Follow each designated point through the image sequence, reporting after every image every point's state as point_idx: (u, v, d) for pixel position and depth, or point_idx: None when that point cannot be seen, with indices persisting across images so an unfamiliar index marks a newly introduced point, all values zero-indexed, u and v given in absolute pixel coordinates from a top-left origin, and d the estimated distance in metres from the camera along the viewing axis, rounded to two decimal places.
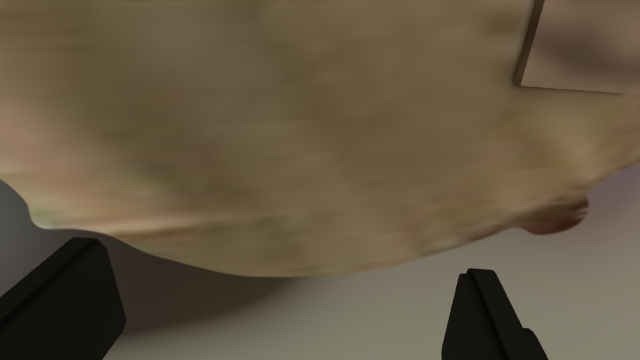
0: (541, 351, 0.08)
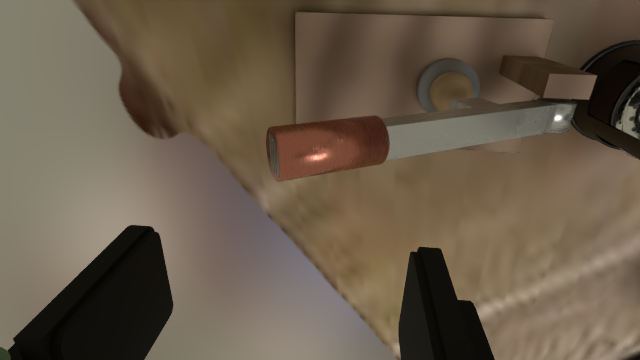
0: (478, 320, 0.08)
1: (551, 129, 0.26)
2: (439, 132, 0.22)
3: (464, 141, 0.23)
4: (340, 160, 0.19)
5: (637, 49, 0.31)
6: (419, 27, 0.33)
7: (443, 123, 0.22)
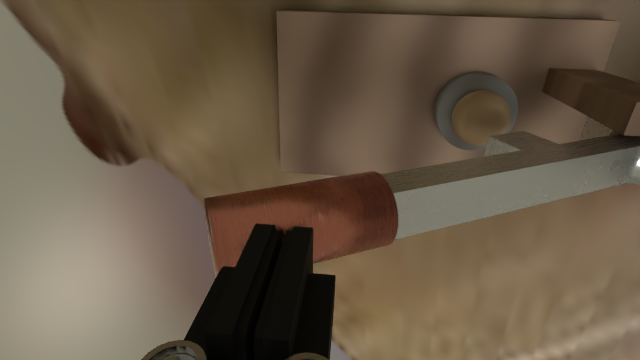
0: (333, 291, 0.09)
1: (631, 179, 0.18)
2: (475, 194, 0.15)
3: (510, 204, 0.16)
4: (318, 252, 0.12)
5: None
6: (439, 31, 0.25)
7: (481, 181, 0.14)
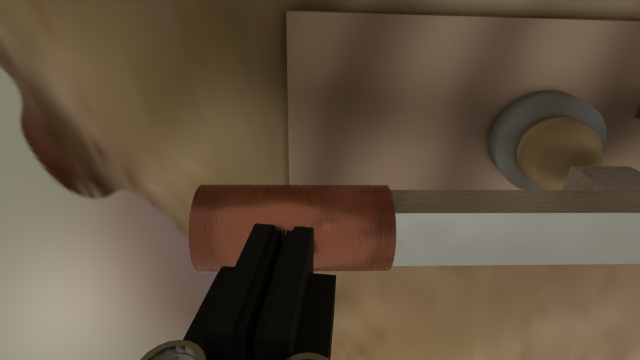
0: (334, 291, 0.09)
1: None
2: (514, 234, 0.12)
3: (572, 255, 0.12)
4: None
5: None
6: (502, 38, 0.19)
7: (524, 219, 0.12)
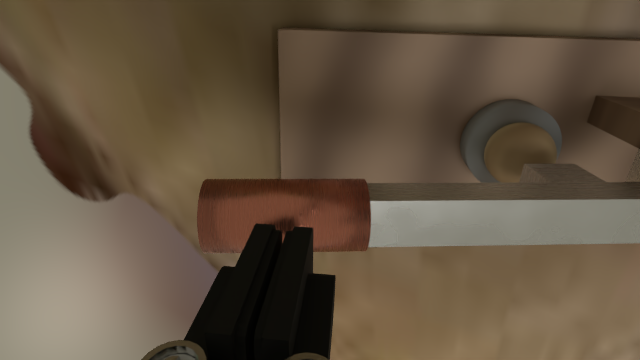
0: (333, 291, 0.09)
1: None
2: (471, 218, 0.14)
3: (520, 236, 0.15)
4: None
5: None
6: (469, 53, 0.21)
7: (478, 205, 0.14)
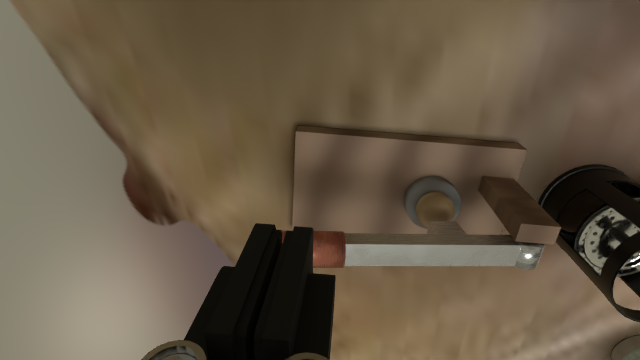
0: (333, 291, 0.09)
1: (515, 264, 0.30)
2: (394, 253, 0.29)
3: (420, 262, 0.29)
4: None
5: (597, 178, 0.35)
6: (408, 149, 0.36)
7: (398, 247, 0.28)
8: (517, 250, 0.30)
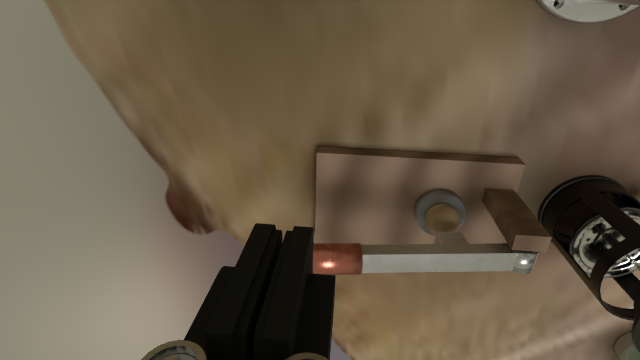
0: (333, 291, 0.09)
1: (513, 269, 0.34)
2: (405, 261, 0.33)
3: (427, 268, 0.34)
4: (328, 271, 0.33)
5: (591, 189, 0.39)
6: (417, 166, 0.40)
7: (407, 256, 0.33)
8: (513, 257, 0.34)
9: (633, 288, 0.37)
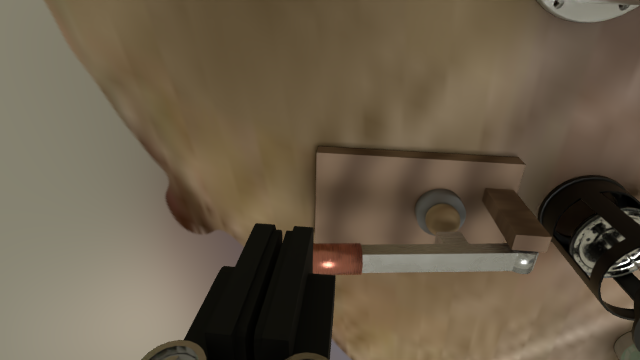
0: (333, 291, 0.09)
1: (513, 269, 0.34)
2: (405, 261, 0.33)
3: (427, 268, 0.34)
4: (329, 271, 0.33)
5: (591, 189, 0.39)
6: (417, 166, 0.40)
7: (407, 256, 0.33)
8: (513, 257, 0.34)
9: (633, 288, 0.37)
